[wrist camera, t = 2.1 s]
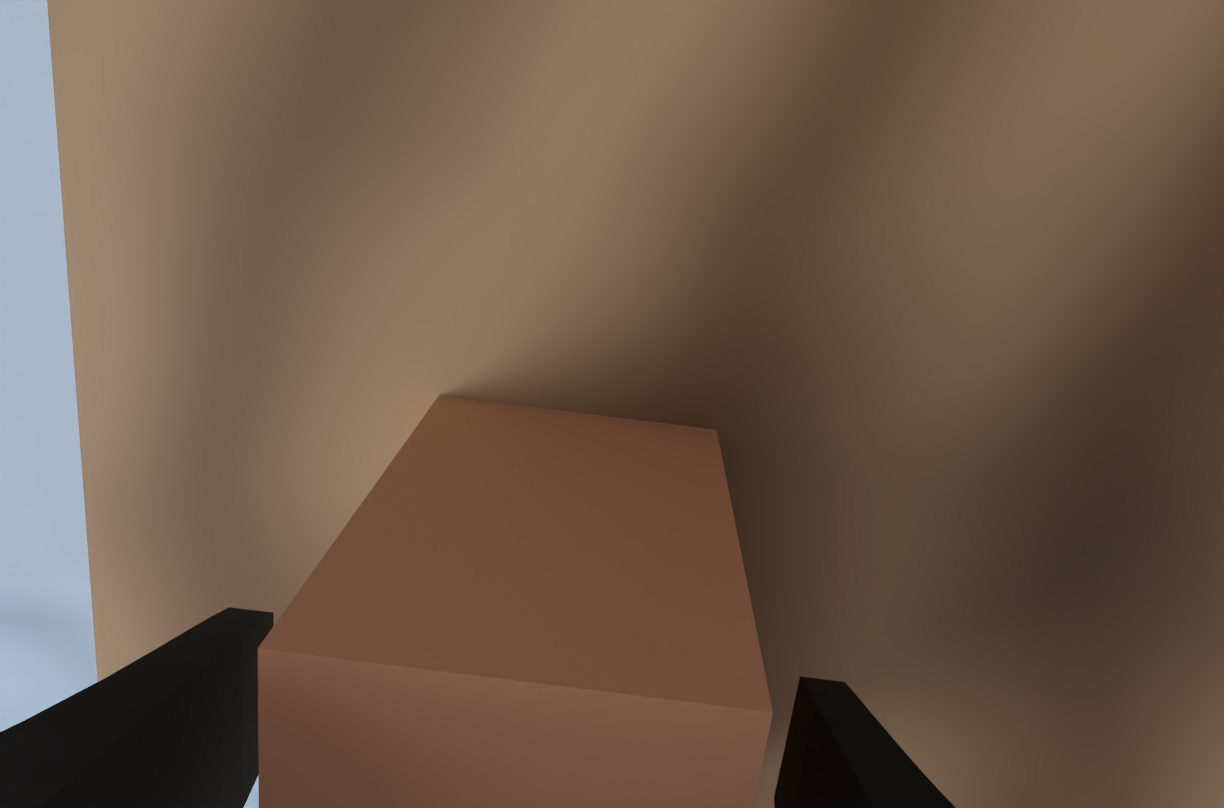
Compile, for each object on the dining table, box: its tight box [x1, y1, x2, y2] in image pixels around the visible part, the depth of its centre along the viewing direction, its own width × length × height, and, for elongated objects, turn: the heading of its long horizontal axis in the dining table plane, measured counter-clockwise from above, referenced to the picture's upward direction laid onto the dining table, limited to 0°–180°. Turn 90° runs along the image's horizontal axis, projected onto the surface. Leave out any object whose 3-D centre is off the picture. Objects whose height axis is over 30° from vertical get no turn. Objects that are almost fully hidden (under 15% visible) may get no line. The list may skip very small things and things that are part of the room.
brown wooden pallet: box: [47, 0, 1224, 808], centre depth 13 cm, size 22×18×3 cm
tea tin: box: [258, 395, 773, 808], centre depth 12 cm, size 4×6×7 cm
